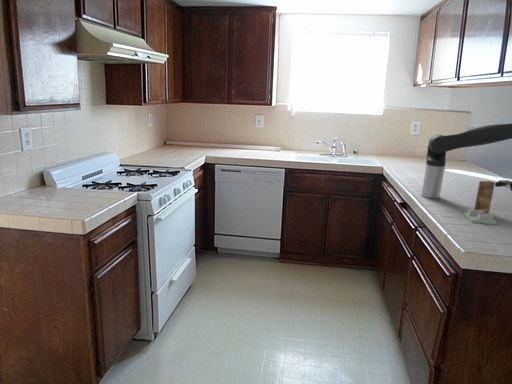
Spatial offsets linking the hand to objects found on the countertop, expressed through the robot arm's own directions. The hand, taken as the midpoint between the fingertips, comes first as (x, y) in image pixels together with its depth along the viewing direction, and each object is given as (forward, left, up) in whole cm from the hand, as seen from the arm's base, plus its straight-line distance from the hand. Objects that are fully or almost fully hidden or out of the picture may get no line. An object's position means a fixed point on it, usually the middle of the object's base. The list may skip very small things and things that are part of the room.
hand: (503, 186), depth 191 cm
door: (+5, -9, -12) cm, 16 cm away
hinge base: (+18, -14, -12) cm, 26 cm away
